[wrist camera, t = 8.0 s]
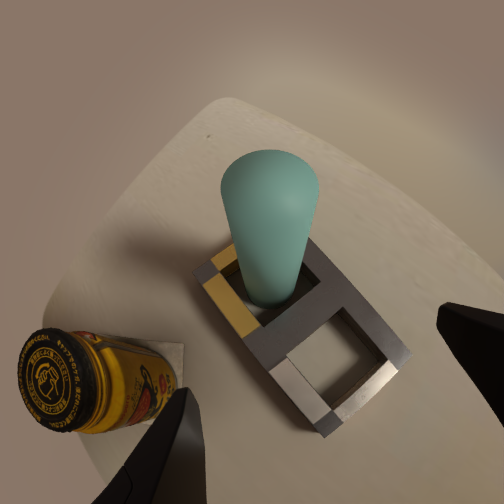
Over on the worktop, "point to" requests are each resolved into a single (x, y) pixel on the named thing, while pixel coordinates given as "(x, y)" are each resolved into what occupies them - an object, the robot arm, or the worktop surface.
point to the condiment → (96, 379)
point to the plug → (269, 221)
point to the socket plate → (308, 333)
